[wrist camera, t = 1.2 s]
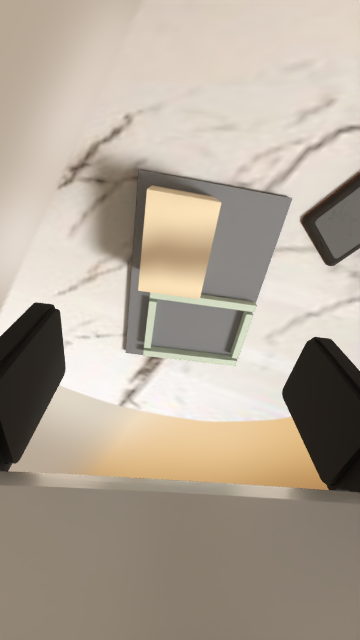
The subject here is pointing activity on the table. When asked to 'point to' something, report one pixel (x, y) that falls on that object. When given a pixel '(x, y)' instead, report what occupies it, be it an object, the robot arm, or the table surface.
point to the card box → (176, 241)
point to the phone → (336, 223)
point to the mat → (207, 277)
